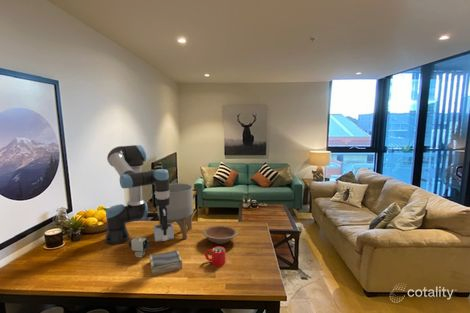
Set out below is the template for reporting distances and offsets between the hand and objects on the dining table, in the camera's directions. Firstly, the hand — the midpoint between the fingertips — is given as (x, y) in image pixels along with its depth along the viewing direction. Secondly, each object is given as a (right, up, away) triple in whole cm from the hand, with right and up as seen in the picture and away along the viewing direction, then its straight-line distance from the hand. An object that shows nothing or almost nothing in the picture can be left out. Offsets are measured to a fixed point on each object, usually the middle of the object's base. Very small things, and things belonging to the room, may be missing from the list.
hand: (164, 237), depth 146 cm
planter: (-3, -11, +44) cm, 45 cm away
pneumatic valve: (-18, -15, +13) cm, 27 cm away
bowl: (+30, -13, +31) cm, 45 cm away
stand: (0, -17, +3) cm, 17 cm away
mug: (+28, -16, +6) cm, 33 cm away
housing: (0, 0, 0) cm, 0 cm away
